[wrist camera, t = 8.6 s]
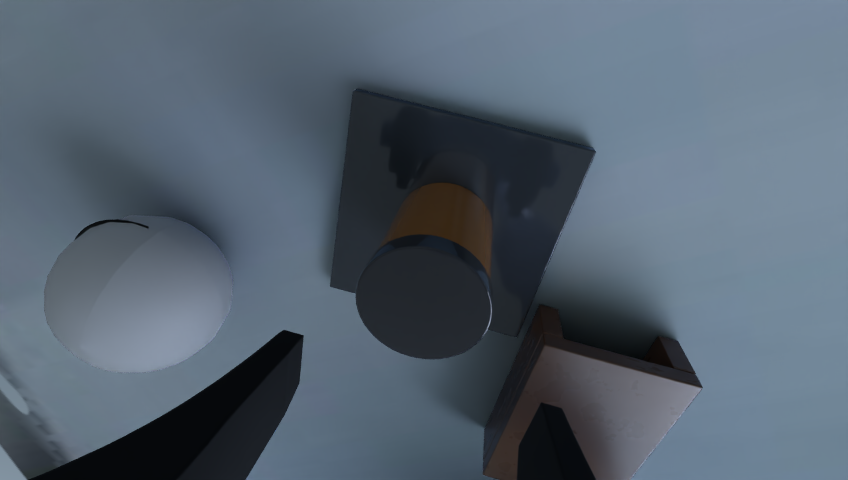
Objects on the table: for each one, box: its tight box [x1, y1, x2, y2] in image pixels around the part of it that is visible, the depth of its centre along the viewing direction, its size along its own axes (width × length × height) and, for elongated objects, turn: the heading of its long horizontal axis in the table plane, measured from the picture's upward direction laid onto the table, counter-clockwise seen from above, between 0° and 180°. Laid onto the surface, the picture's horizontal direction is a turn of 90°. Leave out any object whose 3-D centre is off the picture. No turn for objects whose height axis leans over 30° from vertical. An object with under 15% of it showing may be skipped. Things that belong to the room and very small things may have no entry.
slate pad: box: [330, 89, 596, 337], centre depth 19 cm, size 10×10×1 cm
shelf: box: [483, 305, 702, 480], centre depth 22 cm, size 10×7×3 cm
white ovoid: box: [44, 215, 233, 373], centre depth 20 cm, size 10×7×7 cm
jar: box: [356, 183, 493, 359], centre depth 16 cm, size 5×5×6 cm
